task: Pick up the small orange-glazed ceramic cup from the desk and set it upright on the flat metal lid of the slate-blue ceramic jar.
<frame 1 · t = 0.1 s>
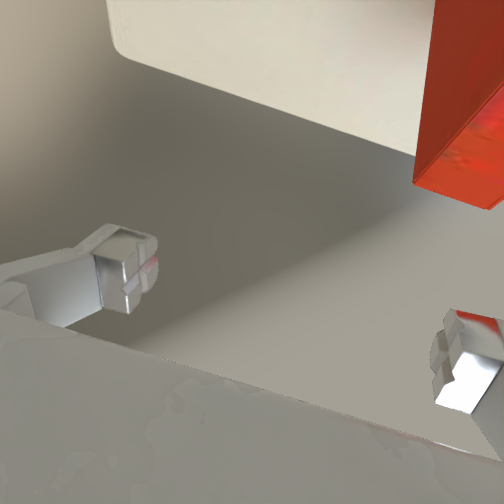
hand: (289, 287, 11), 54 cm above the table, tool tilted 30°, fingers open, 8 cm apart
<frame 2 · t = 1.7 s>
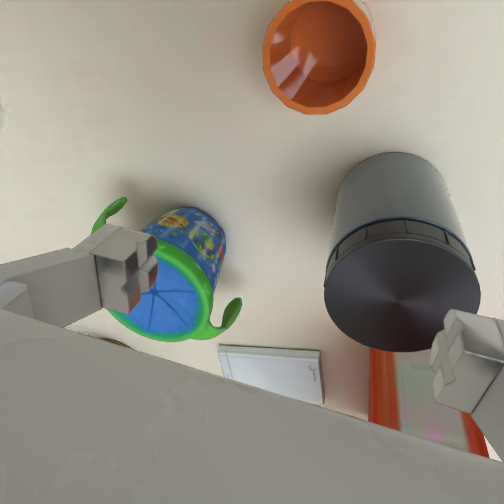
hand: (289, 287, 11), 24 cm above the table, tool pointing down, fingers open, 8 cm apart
hard drive: (273, 368, 51), on the table
jar: (389, 202, 35), on the table
jar lid: (397, 294, 24), point 13 cm above the table, screwed on, not yet turned
file binder: (406, 371, 45), on the table
snack cup: (193, 235, 42), on the table
cup: (329, 40, 29), on the table
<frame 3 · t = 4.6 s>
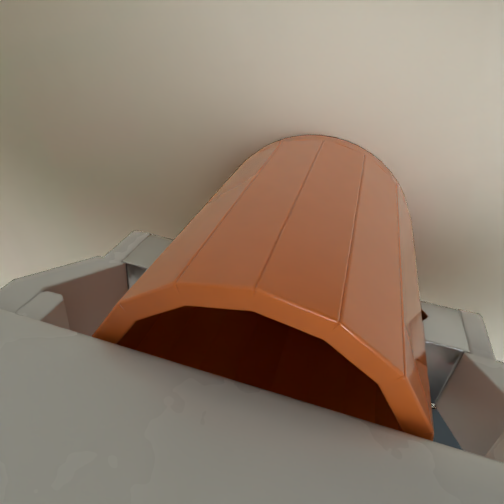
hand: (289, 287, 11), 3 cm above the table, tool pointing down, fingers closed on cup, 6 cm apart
jar: (448, 474, 18), on the table
cup: (311, 226, 14), on the table, touching gripper
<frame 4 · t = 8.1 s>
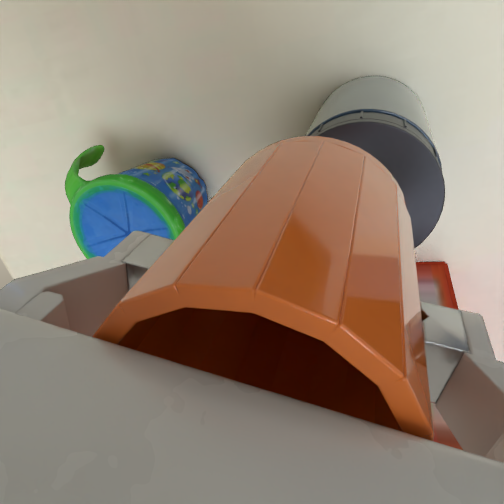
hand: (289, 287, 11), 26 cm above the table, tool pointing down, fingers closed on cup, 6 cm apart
jar: (367, 133, 33), on the table
jar lid: (359, 196, 23), point 13 cm above the table, screwed on, not yet turned
file binder: (404, 328, 43), on the table
snack cup: (176, 189, 42), on the table
cup: (311, 227, 14), point 23 cm above the table, touching gripper
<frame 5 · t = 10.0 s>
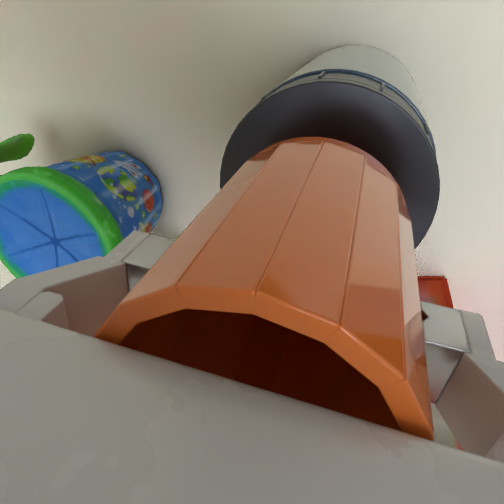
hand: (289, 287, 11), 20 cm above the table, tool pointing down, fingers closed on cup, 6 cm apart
jar: (348, 119, 27), on the table
jar lid: (323, 191, 17), point 13 cm above the table, screwed on, not yet turned
file binder: (396, 353, 36), on the table
snack cup: (128, 189, 35), on the table
cup: (311, 227, 14), point 16 cm above the table, touching gripper
when the fingers open (17 cm above the table, at t = 11.5 s): cup stays where it is, resting on jar lid.
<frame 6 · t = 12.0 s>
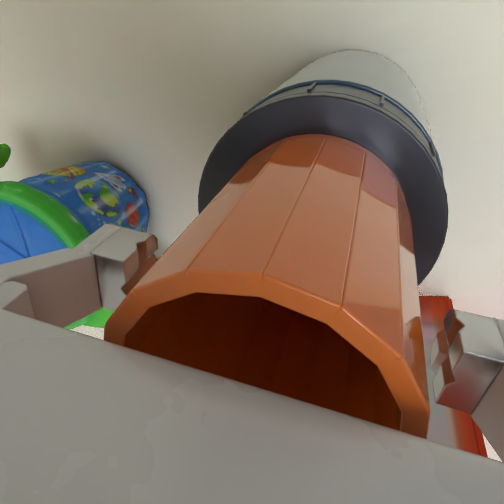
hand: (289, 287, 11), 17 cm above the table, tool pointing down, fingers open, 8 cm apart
jar: (345, 129, 25), on the table
jar lid: (314, 218, 15), point 13 cm above the table, screwed on, not yet turned, touching cup
file binder: (397, 375, 34), on the table
snack cup: (113, 201, 33), on the table
cup: (313, 222, 14), point 13 cm above the table, touching jar lid
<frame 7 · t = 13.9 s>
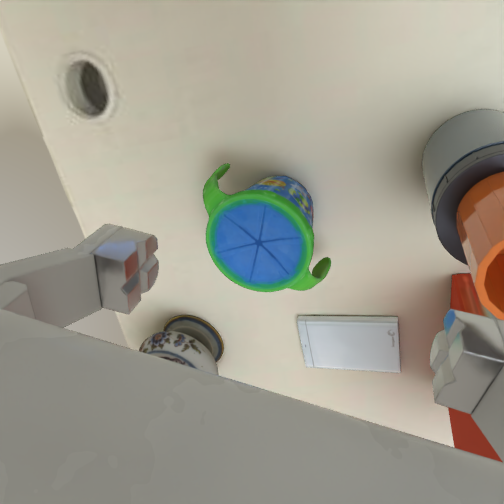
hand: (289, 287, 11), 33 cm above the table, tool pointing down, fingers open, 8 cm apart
hard drive: (349, 338, 53), on the table
jar: (473, 158, 38), on the table
file binder: (485, 335, 47), on the table
snack cup: (281, 204, 46), on the table
apothecary jar: (194, 339, 62), on the table
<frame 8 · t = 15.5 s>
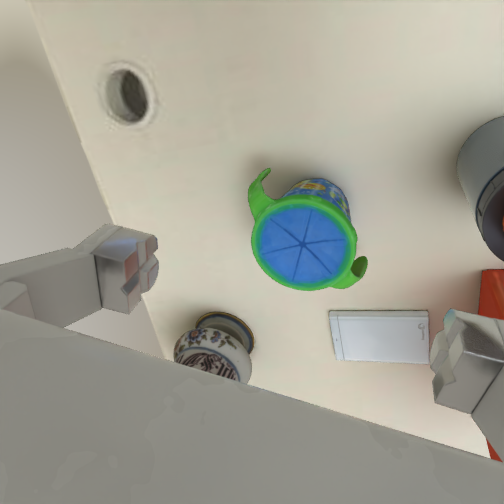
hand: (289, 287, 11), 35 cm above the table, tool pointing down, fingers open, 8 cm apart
hard drive: (379, 332, 55), on the table
snack cup: (316, 205, 48), on the table
apothecary jar: (225, 335, 64), on the table
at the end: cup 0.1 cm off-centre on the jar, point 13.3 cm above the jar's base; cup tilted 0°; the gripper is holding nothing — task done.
